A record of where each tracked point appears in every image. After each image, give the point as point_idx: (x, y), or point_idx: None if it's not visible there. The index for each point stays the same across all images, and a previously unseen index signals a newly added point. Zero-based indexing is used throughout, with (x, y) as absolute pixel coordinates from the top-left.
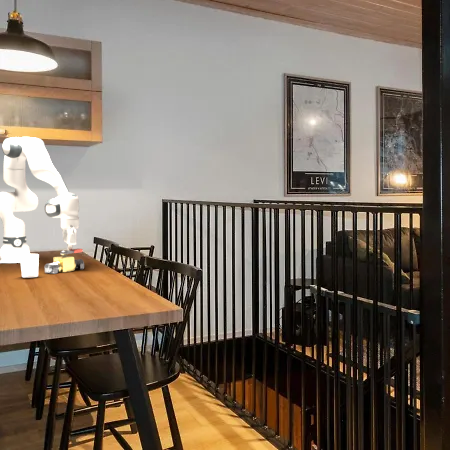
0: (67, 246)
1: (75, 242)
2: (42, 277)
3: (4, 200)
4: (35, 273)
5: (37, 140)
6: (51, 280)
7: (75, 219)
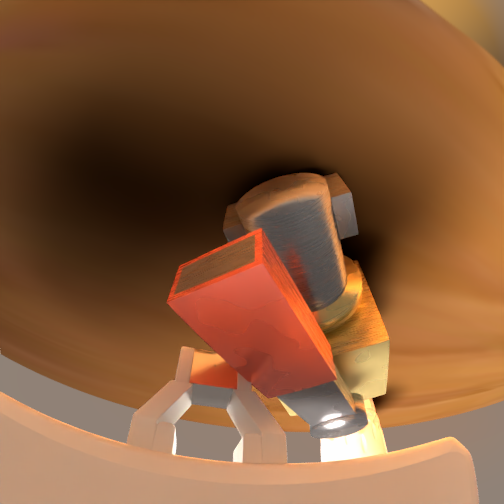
0: (174, 423)
1: (463, 457)
2: (396, 384)
3: None
4: (374, 407)
5: None
6: (459, 368)
7: None
